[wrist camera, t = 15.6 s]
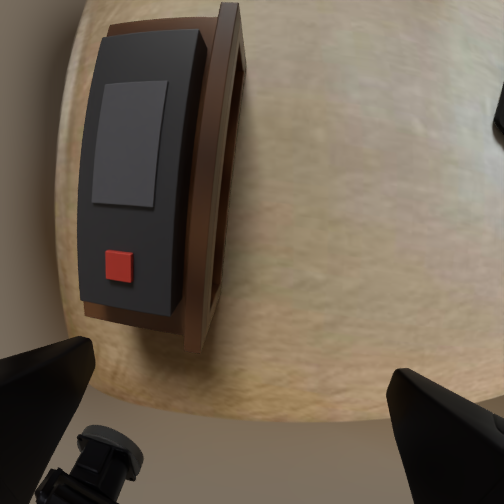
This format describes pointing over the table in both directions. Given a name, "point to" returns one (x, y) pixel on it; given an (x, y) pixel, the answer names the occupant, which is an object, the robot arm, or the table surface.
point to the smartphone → (500, 113)
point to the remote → (138, 169)
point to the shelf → (200, 176)
